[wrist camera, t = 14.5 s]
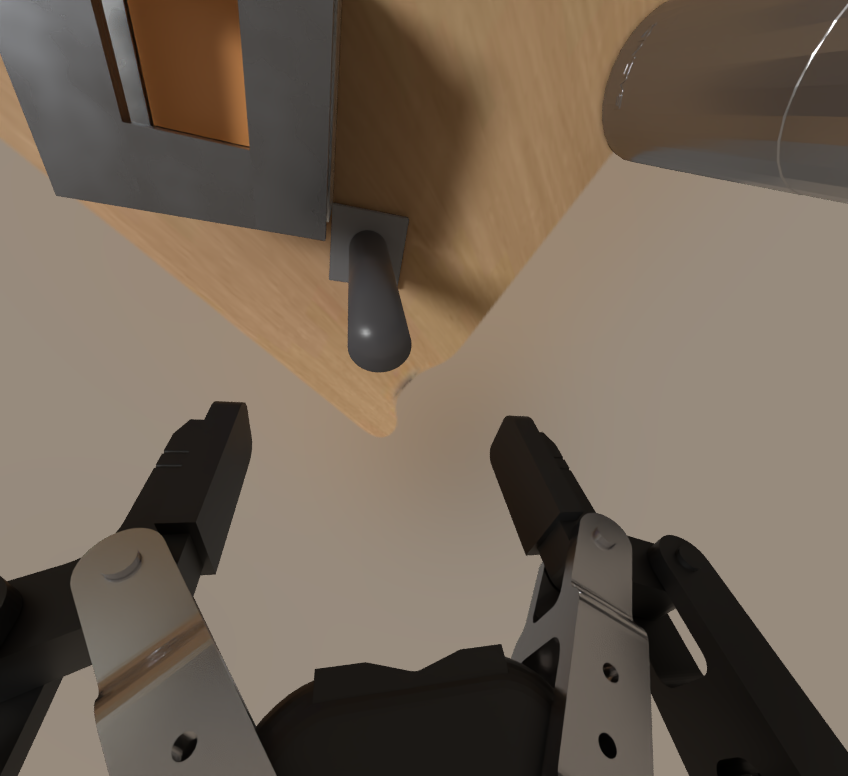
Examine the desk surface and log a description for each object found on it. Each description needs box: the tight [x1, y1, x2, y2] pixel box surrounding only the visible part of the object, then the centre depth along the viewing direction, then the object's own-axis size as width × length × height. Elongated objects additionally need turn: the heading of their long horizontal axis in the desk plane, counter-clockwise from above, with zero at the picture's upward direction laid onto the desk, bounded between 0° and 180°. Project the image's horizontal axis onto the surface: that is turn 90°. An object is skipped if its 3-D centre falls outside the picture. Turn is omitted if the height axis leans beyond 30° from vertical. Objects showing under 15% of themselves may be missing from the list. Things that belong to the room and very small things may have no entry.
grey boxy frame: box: [0, 0, 342, 241], centre depth 17 cm, size 12×12×10 cm
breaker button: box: [127, 0, 249, 146], centre depth 18 cm, size 6×6×5 cm
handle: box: [348, 230, 411, 372], centre depth 23 cm, size 3×3×15 cm
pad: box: [329, 203, 409, 286], centre depth 29 cm, size 6×6×1 cm
